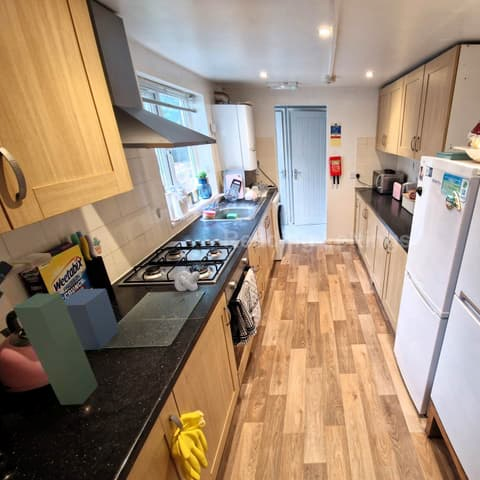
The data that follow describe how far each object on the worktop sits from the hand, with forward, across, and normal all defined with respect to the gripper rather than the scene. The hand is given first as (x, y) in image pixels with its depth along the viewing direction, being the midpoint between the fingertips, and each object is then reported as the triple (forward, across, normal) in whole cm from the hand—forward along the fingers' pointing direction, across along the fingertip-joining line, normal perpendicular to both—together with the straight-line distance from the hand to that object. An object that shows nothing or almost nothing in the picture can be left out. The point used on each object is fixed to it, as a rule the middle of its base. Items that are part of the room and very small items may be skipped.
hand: (1, 264), depth 67 cm
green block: (-25, -11, +34) cm, 43 cm away
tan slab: (-1, 0, +4) cm, 4 cm away
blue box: (-5, 0, +45) cm, 45 cm away
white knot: (+27, -18, +64) cm, 71 cm away
